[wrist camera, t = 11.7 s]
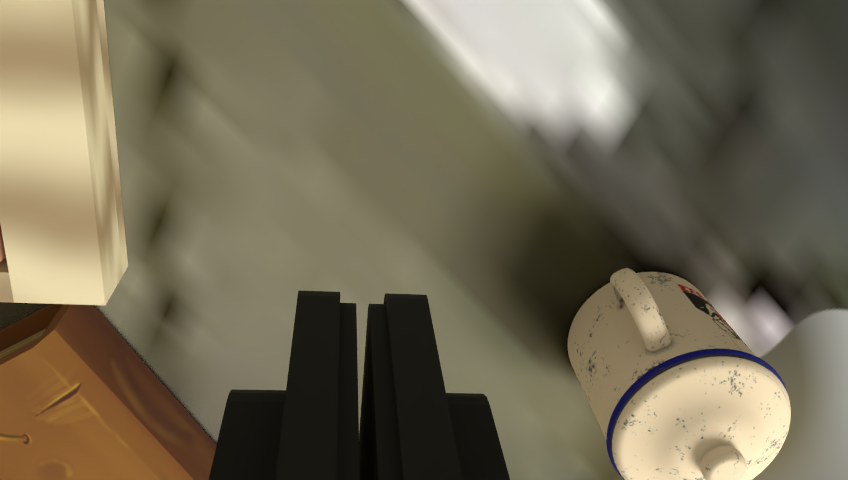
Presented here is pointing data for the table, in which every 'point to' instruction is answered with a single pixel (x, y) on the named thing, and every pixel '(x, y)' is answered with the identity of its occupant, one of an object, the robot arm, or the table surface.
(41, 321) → the diary
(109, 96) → the beige flat block
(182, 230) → the table surface
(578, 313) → the teacup with lid
